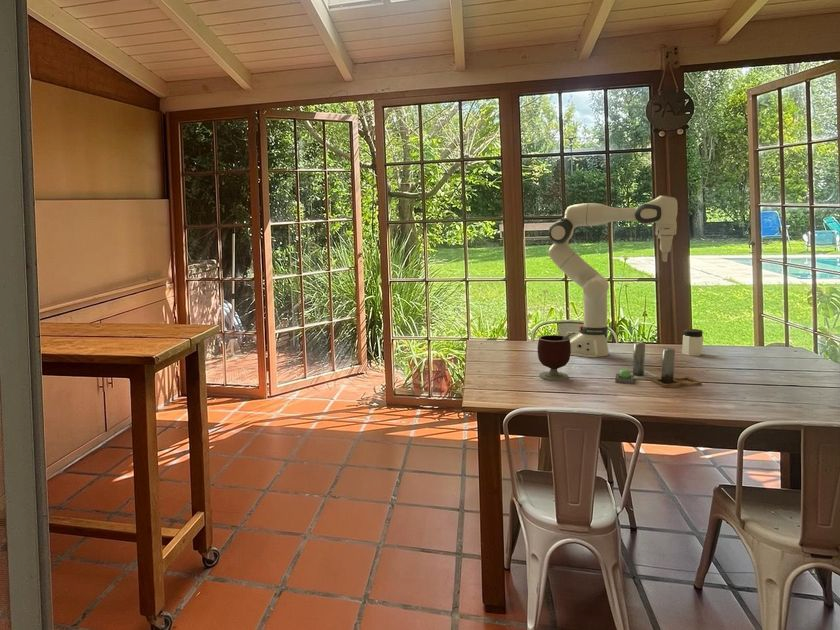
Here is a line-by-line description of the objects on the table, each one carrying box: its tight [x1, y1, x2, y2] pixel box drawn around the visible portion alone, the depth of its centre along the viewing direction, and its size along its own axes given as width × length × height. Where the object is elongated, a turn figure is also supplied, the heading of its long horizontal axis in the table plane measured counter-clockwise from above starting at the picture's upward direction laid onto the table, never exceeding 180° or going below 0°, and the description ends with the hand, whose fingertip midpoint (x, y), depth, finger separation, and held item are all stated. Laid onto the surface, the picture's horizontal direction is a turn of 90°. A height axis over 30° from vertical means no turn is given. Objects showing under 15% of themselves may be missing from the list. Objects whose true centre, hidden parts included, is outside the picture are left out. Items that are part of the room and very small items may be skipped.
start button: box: [619, 368, 631, 378], centre depth 217 cm, size 4×4×4 cm
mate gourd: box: [537, 331, 576, 382], centre depth 229 cm, size 16×14×20 cm
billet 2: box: [660, 347, 676, 384], centre depth 211 cm, size 4×4×14 cm
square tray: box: [629, 369, 659, 380], centre depth 226 cm, size 11×11×2 cm
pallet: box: [650, 375, 703, 389], centre depth 212 cm, size 16×9×2 cm, turn 97°
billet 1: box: [632, 341, 646, 377], centre depth 225 cm, size 4×4×14 cm
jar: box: [681, 328, 704, 357], centre depth 262 cm, size 9×8×12 cm
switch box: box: [614, 373, 635, 385], centre depth 217 cm, size 7×7×3 cm
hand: (664, 261), depth 248 cm, fingers open, 8 cm apart
